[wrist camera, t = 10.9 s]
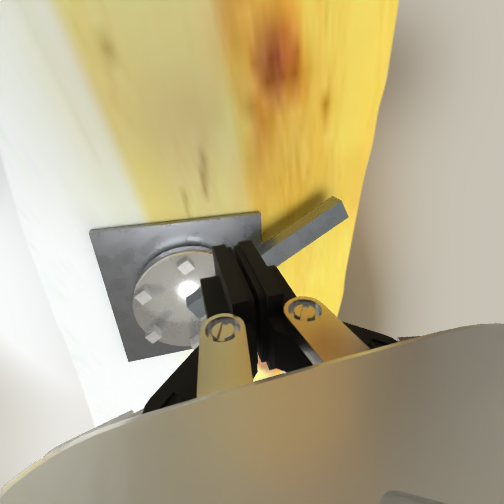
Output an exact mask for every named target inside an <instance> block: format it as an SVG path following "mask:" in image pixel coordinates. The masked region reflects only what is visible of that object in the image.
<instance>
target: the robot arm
mask: <svg viewBox="0 0 504 504" xmlns="http://www.w3.org/2000/svg"><path fill="white" fill-rule="evenodd" d="M212 252H213V259H214V267H215V275H216V276H213V277H207V278H202V279H200V284H201V290H202V296H203V302H204V307H205V312H206V318H207V320H206V321H205V322H204V323H203V325H202V326H201V330H200V341H199V346H198V347H197V348H196V349H195V350H194V351H193V352H192V353H191V354H190V355H189V356H188V358H187V359H186V360H185V361H184V362H183V363H182V364H181V365H180V366H179V367H178V369H177V370H176V371H175V372H174V373H173V374H172V375H171V376H170V377H169V378H168V379H167V381H166V382H165V383H164V384H163V385H162V386H161V387H160V388H159V389H158V390H157V391H156V393H155V394H154V395H153V396H152V397H151V398H150V400H149V401H148V402H147V404H146V405H145V407H144V409H142V410H140V411H138V412H136V413H133V410H131V411H129V412H127V413H125V414H123V415H121V416H119V417H117V418H114V419H112V420H110V421H108V422H106V423H104V424H102V425H100V426H98V427H96V428H94V429H92V430H90V431H88V432H85V433H83V434H82V435H79V436H77V437H75V438H73V439H71V440H69V441H67V442H65V443H63V444H61V445H59V446H57V447H56V448H54V449H52V450H51V451H49V452H48V453H47V454H46V455H45V456H44V457H43V458H42V459H40V460H38V461H37V462H35V463H33V464H32V465H30V466H29V467H28V468H26V469H25V470H23V471H22V472H21V473H19V474H18V475H17V476H15V477H14V478H13V479H12V480H10V481H9V482H8V483H7V484H6V485H4V486H3V487H2V488H1V489H0V504H504V324H498V323H496V324H477V325H470V326H463V327H458V328H454V329H449V330H445V331H440V332H436V333H432V334H428V335H424V336H415V337H398V339H397V341H396V340H394V339H393V338H391V337H389V336H386V335H383V334H380V333H377V332H374V331H371V330H367V329H364V328H361V327H358V326H354V325H351V324H348V323H345V322H342V321H340V320H339V319H338V318H337V317H336V316H335V315H334V314H333V313H332V312H331V311H330V310H329V309H328V308H327V307H326V306H325V305H324V304H322V303H321V302H320V301H318V300H316V299H314V298H311V297H296V295H295V294H294V292H293V291H292V289H291V288H290V286H289V285H288V283H287V282H286V280H285V279H284V278H283V276H282V275H281V273H280V272H279V270H278V269H277V267H276V266H275V265H271V266H267V265H266V263H265V262H264V260H263V258H262V257H261V255H260V254H259V252H258V250H257V249H256V247H255V246H254V244H253V242H252V241H251V240H247V241H241V242H238V245H237V246H234V253H233V251H232V249H231V247H226V245H225V244H223V245H217V246H212ZM257 352H258V353H257ZM258 355H259V357H260V360H261V362H267V365H268V368H269V370H272V369H275V368H277V369H280V370H282V371H283V374H280V375H276V376H273V377H269V378H265V379H262V380H258V381H255V382H253V378H254V377H255V375H256V374H257V372H258V371H257V364H258Z"/></svg>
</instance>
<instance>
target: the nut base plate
mask: <svg viewBox="0 0 504 504" xmlns="http://www.w3.org/2000/svg"><path fill="white" fill-rule="evenodd" d="M89 235H90V238H91V242H92V245H93V248H94V251H95V255H96V258H97V261H98V264H99V268H100V271H101V274H102V277H103V281H104V284H105V287H106V290H107V293H108V297H109V300H110V303H111V306H112V310H113V313H114V316H115V319H116V323H117V326H118V329H119V332H120V336H121V339H122V342H123V345H124V349H125V352H126V355H127V358H128V362H130V361H135V360H140V359H145V358H150V357H155V356H160V355H164V354H169V353H174V352H179V351H184V350H189V349H193V348H192V347H191V346H175V345H169V344H165V343H163V342H160V341H158V340H157V341H156V342H154V343H153V344H152V343H151V342H150V341H149V340H147V339H146V338H145V331H143V329H142V328H141V327H140V326H139V324H138V322H137V321H136V318H135V316H134V312H133V296H134V291H135V286H136V282H137V279H138V277H139V275H140V273H141V271H142V270H143V269H144V267H145V266H146V265H147V264H148V263H149V262H150V261H151V260H152V259H154V258H155V257H156V256H158V255H160V254H161V253H163V252H166V251H168V250H170V249H174V248H177V247H182V246H201V247H207V248H210V249H212V246H217V245H223V244H225V245H226V247H231V249H232V251H233V253H234V246H237V245H238V242H241V241H247V240H251V241H252V242H253V244H254V246H255V247H256V249H257V248H258V247H260V246H261V213H260V212H259V211H258V212H249V213H240V214H231V215H222V216H213V217H204V218H195V219H186V220H176V221H167V222H158V223H149V224H140V225H131V226H122V227H113V228H103V229H94V230H91V231H90V232H89Z"/></svg>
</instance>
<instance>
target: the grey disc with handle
mask: <svg viewBox="0 0 504 504" xmlns="http://www.w3.org/2000/svg"><path fill="white" fill-rule="evenodd" d="M346 218H348V215H347V212H346V210H345V208H344V206H343V203H342V201H341V200H339V199H337V198H335V197H333V196H332V197H331V198H329V199H328V200H326V201H325V202H323V203H322V204H320V205H319V206H318V207H316V208H315V209H313V210H312V211H310V212H309V213H307V214H306V215H305V216H303V217H302V218H300V219H299V220H297V221H296V222H294V223H293V224H291V225H290V226H289V227H287V228H286V229H284V230H283V231H281V232H280V233H278V234H277V235H276V236H274V237H273V238H271V239H270V240H268V241H267V242H265V243H264V244H263V245H261V246H260V247H258V248H257V250H258V252H259V254H260V255H261V257H262V258H263V260H264V262H265V263H266V265H267V266H271V265H275V266H276V267H277V266H278V265H279V264H281V263H282V262H284V261H285V260H287V259H288V258H290V257H291V256H293V255H294V254H295V253H297V252H298V251H300V250H301V249H303V248H304V247H306V246H307V245H309V244H310V243H312V242H313V241H314V240H316V239H317V238H319V237H320V236H322V235H323V234H325V233H326V232H328V231H329V230H330V229H332V228H333V227H335V226H336V225H338V224H339V223H341V222H342V221H344V220H345V219H346ZM213 276H216V275H215V267H214V259H213V252H212V249H210V248H207V247H201V246H182V247H177V248H174V249H170V250H168V251H166V252H163V253H161V254H160V255H158V256H156V257H155V258H154V259H152V260H151V261H150V262H149V263H148V264H147V265H146V266H145V267H144V269H143V270H142V271H141V273H140V275H139V277H138V279H137V282H136V286H135V291H134V296H133V312H134V316H135V318H136V321H137V322H138V324H139V326H140V327H141V328H142V329H143V331H145V338H146V339H147V340H149V341H150V342H151V343H152V344H153V343H154V342H156V341H157V340H158V341H160V342H163V343H165V344H169V345H175V346H191V347H192V348H193V349H194V350H195V349H196V348H197V347H198V346H199V341H200V330H201V326H202V325H203V323H204V322H205V321H206V320H207V318H206V312H205V307H204V302H203V296H202V290H201V284H200V279H202V278H207V277H213Z"/></svg>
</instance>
